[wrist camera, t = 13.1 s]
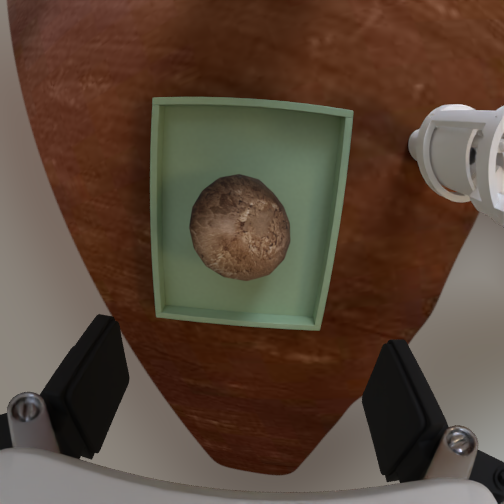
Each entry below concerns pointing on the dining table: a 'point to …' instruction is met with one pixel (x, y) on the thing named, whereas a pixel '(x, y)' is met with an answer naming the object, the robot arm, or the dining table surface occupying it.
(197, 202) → the mushroom
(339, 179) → the tray
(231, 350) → the dining table surface
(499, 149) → the white open cylindrical frame
